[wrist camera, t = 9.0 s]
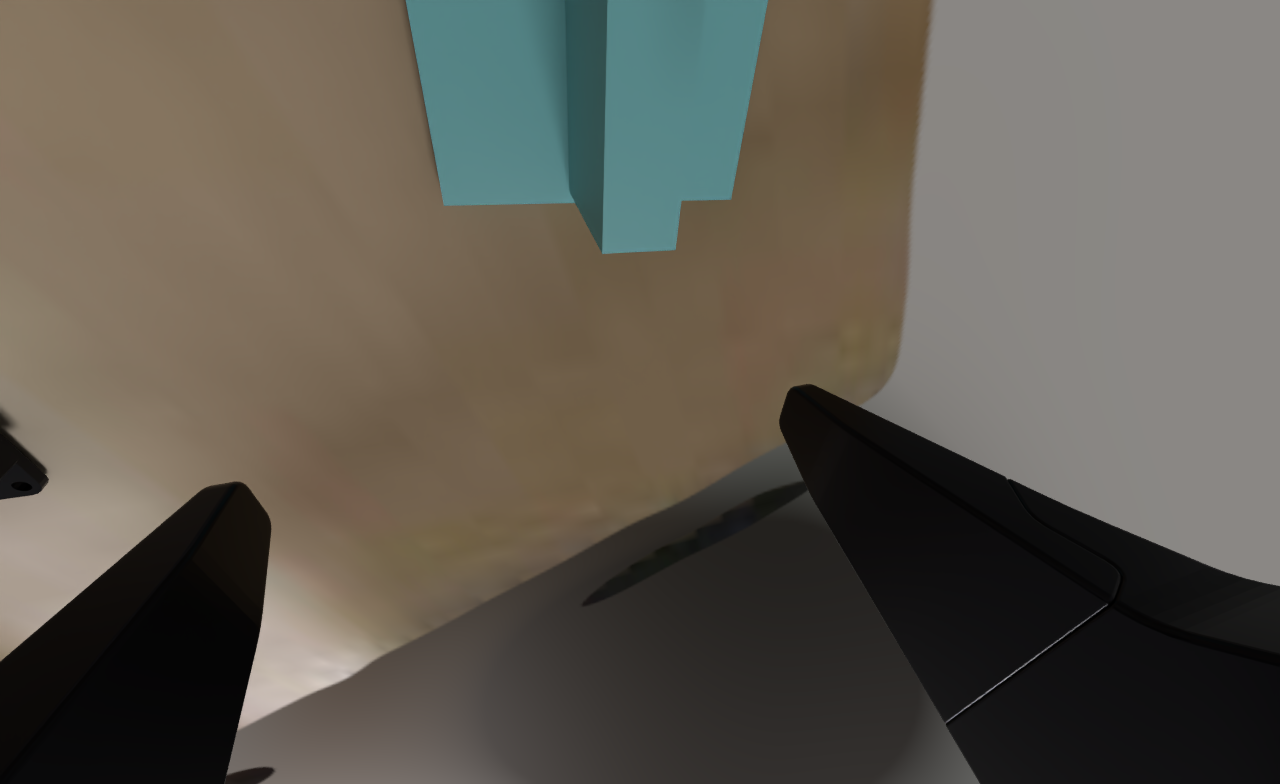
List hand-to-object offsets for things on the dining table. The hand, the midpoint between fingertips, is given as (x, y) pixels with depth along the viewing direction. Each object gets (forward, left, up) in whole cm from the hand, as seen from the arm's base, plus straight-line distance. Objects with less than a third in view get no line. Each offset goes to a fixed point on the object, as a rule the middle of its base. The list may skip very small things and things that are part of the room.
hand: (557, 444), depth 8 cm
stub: (+3, +4, -12) cm, 12 cm away
